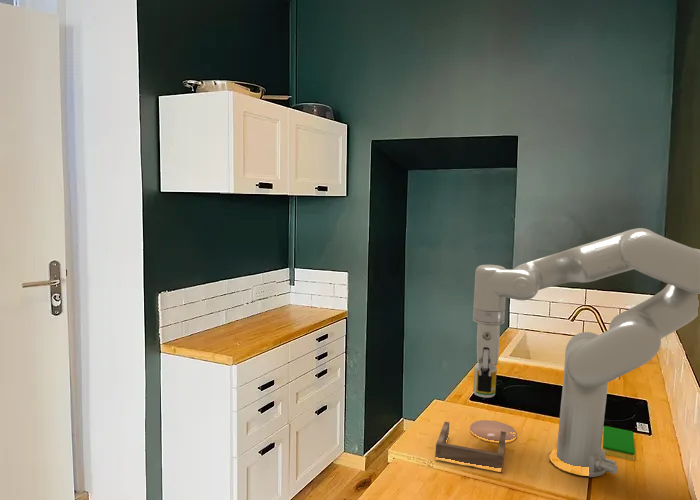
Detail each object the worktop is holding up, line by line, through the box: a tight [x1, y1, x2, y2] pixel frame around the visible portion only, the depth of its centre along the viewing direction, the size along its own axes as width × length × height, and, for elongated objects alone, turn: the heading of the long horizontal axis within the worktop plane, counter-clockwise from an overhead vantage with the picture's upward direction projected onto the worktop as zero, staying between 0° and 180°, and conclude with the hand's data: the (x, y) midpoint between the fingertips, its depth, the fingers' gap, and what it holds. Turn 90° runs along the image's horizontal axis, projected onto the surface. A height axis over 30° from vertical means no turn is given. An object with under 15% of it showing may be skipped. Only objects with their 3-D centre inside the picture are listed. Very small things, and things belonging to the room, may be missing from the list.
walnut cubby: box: [434, 421, 506, 469], centre depth 136 cm, size 13×15×4 cm
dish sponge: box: [601, 425, 636, 461], centre depth 143 cm, size 7×14×2 cm, turn 155°
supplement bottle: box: [472, 360, 498, 399], centre depth 139 cm, size 5×5×10 cm
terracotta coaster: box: [469, 419, 518, 441], centre depth 148 cm, size 12×12×1 cm
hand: (484, 386), depth 139 cm, fingers closed on supplement bottle, 5 cm apart
